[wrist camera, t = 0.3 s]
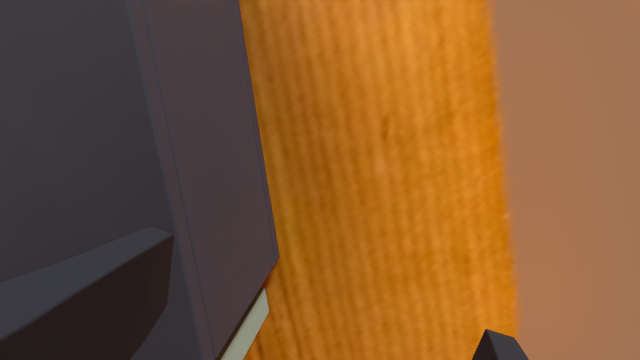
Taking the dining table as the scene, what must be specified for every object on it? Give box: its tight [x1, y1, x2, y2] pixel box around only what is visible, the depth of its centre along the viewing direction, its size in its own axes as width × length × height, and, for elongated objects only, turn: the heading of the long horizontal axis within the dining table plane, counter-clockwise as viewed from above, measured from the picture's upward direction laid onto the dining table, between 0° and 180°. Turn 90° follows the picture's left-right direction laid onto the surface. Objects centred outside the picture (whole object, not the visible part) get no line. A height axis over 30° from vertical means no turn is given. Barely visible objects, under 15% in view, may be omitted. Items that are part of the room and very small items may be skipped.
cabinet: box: [0, 0, 279, 360], centre depth 18 cm, size 13×13×8 cm
